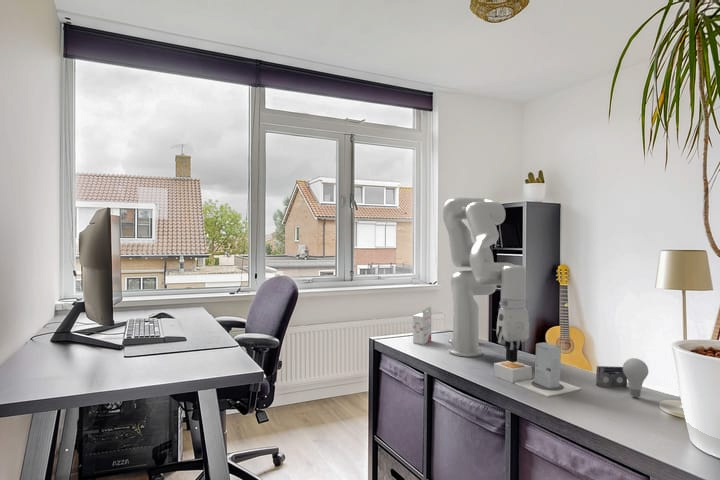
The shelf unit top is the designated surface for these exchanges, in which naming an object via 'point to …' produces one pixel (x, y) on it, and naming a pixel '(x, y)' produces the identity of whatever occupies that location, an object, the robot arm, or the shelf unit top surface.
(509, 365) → the button
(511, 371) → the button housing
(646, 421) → the shelf unit top surface
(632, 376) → the lightbulb
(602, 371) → the mini dv tape
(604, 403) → the shelf unit top surface
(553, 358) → the skincare box
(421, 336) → the ink cartridge box
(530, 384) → the white plate with oval
